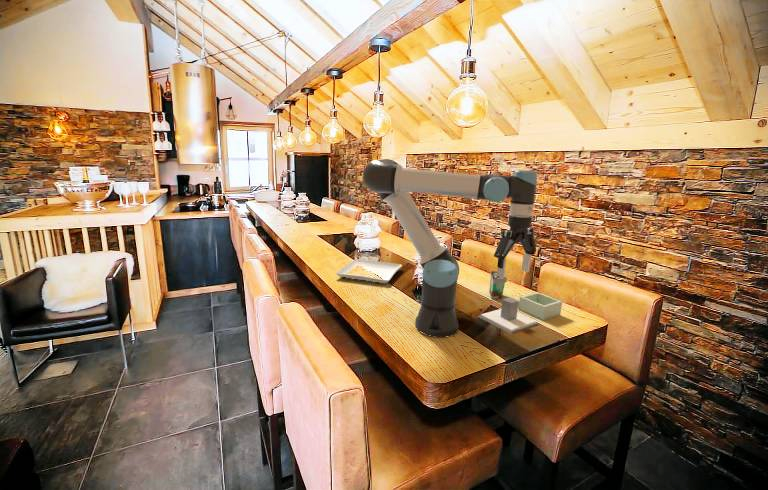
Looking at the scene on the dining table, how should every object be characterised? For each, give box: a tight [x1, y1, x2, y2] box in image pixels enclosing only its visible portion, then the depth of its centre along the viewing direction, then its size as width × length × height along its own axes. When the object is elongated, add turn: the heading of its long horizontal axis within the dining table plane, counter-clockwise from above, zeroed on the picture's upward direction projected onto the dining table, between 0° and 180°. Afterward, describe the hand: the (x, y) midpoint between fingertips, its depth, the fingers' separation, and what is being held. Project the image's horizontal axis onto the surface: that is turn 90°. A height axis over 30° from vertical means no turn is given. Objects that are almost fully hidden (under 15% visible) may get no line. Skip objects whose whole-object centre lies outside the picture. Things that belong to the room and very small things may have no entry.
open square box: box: [517, 291, 563, 321], centre depth 140 cm, size 11×11×6 cm
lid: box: [480, 297, 538, 332], centre depth 131 cm, size 14×14×8 cm
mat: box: [476, 314, 541, 335], centre depth 132 cm, size 16×16×1 cm
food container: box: [489, 270, 508, 300], centre depth 155 cm, size 12×6×10 cm, turn 168°
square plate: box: [335, 258, 403, 284], centre depth 181 cm, size 27×27×4 cm
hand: (513, 273), depth 128 cm, fingers open, 13 cm apart
